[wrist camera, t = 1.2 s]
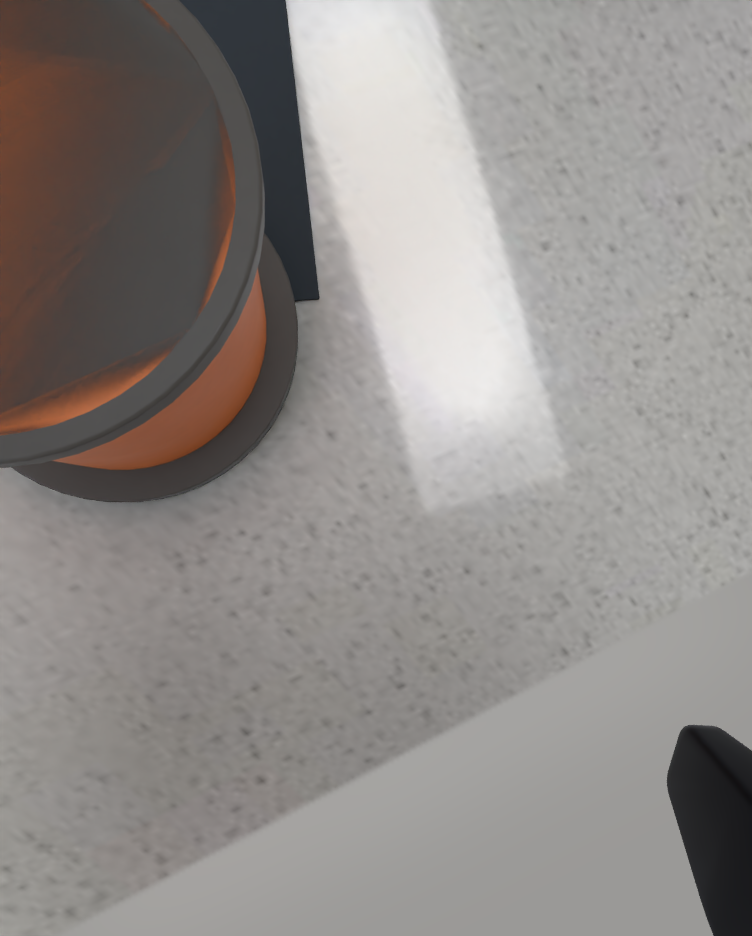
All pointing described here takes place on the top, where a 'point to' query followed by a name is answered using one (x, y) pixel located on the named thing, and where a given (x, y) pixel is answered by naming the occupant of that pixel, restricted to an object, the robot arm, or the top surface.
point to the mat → (269, 121)
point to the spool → (132, 254)
